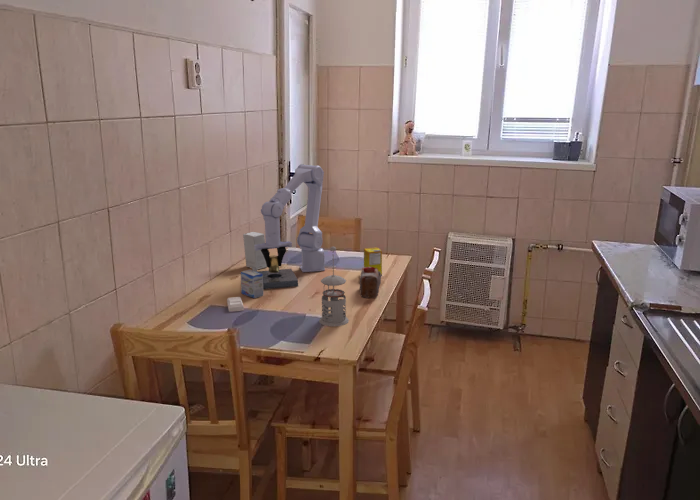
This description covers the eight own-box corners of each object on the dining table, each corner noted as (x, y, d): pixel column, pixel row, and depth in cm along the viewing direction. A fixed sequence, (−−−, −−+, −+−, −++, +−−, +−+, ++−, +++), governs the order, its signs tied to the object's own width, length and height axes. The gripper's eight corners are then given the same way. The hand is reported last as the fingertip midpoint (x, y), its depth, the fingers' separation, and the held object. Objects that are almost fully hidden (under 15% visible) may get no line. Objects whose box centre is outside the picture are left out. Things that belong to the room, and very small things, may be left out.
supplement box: (376, 272, 236) (376, 247, 233) (382, 276, 230) (382, 250, 228) (363, 273, 234) (363, 248, 231) (368, 277, 229) (368, 251, 226)
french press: (325, 328, 178) (323, 251, 172) (312, 316, 189) (311, 243, 182) (353, 323, 182) (353, 248, 176) (339, 311, 192) (339, 240, 186)
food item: (360, 286, 218) (360, 261, 216) (380, 286, 218) (380, 262, 216) (359, 298, 205) (359, 272, 203) (381, 298, 205) (381, 272, 202)
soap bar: (241, 302, 202) (240, 295, 202) (243, 311, 194) (243, 304, 193) (227, 304, 201) (226, 297, 200) (229, 313, 193) (228, 305, 192)
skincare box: (267, 267, 243) (265, 233, 240) (255, 270, 239) (254, 236, 236) (256, 263, 249) (254, 230, 245) (244, 266, 245) (242, 233, 241)
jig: (291, 274, 234) (291, 263, 232) (298, 286, 219) (297, 275, 217) (252, 277, 230) (251, 267, 228) (256, 290, 215) (255, 278, 213)
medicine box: (241, 294, 210) (239, 271, 208) (250, 291, 214) (249, 269, 211) (254, 298, 205) (253, 276, 203) (264, 295, 208) (262, 273, 206)
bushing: (277, 269, 226) (277, 255, 224) (280, 272, 222) (279, 257, 221) (267, 270, 224) (267, 256, 223) (270, 273, 221) (269, 258, 219)
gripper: (287, 228, 225) (288, 261, 229) (251, 232, 220) (253, 265, 223) (293, 232, 219) (294, 266, 222) (256, 236, 214) (257, 270, 217)
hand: (274, 266), depth 222 cm, fingers closed on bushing, 4 cm apart
